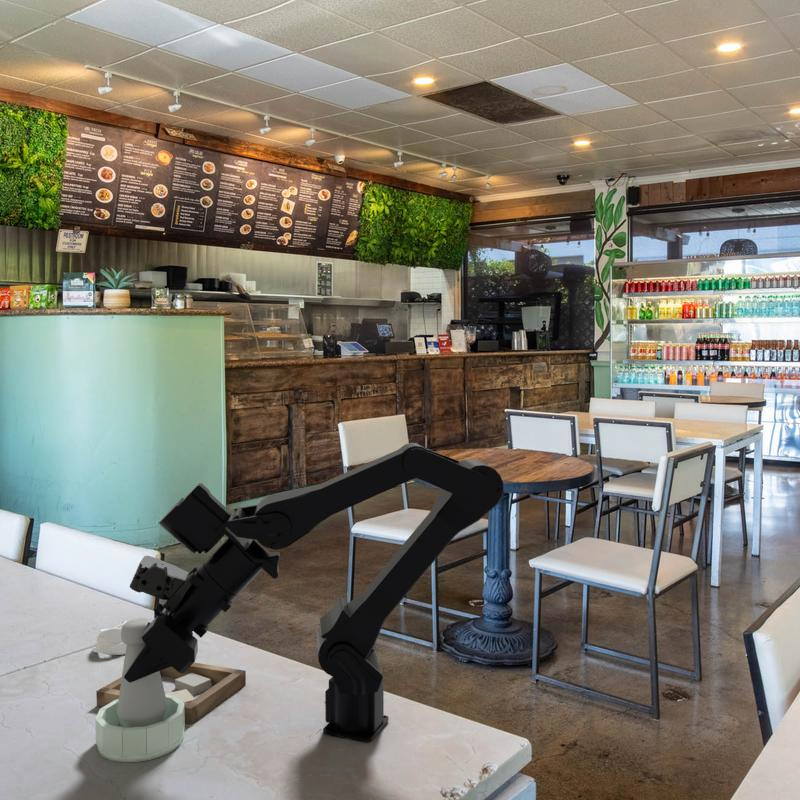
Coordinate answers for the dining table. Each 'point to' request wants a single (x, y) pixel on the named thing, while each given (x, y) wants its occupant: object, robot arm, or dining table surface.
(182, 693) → the beige rectangular block
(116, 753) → the bowl
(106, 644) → the whipped cream
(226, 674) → the tray
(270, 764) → the dining table surface
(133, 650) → the salt shaker
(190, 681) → the off-white rectangular block
